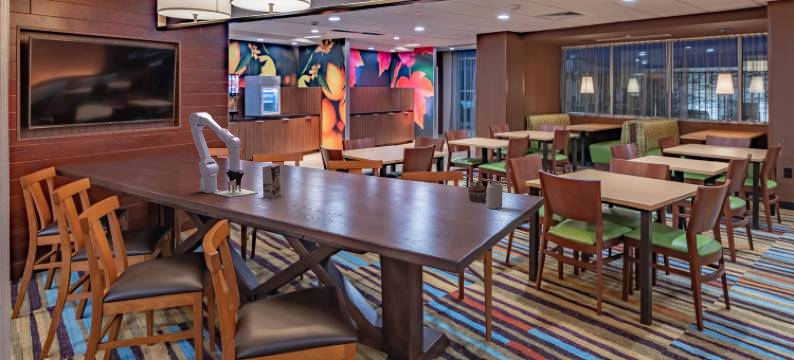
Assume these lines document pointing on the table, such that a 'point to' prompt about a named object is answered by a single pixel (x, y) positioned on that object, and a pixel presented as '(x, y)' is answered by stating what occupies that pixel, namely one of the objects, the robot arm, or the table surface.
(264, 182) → the coffee box
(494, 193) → the can
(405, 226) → the table surface
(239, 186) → the stool
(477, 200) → the cupcake
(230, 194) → the mat
